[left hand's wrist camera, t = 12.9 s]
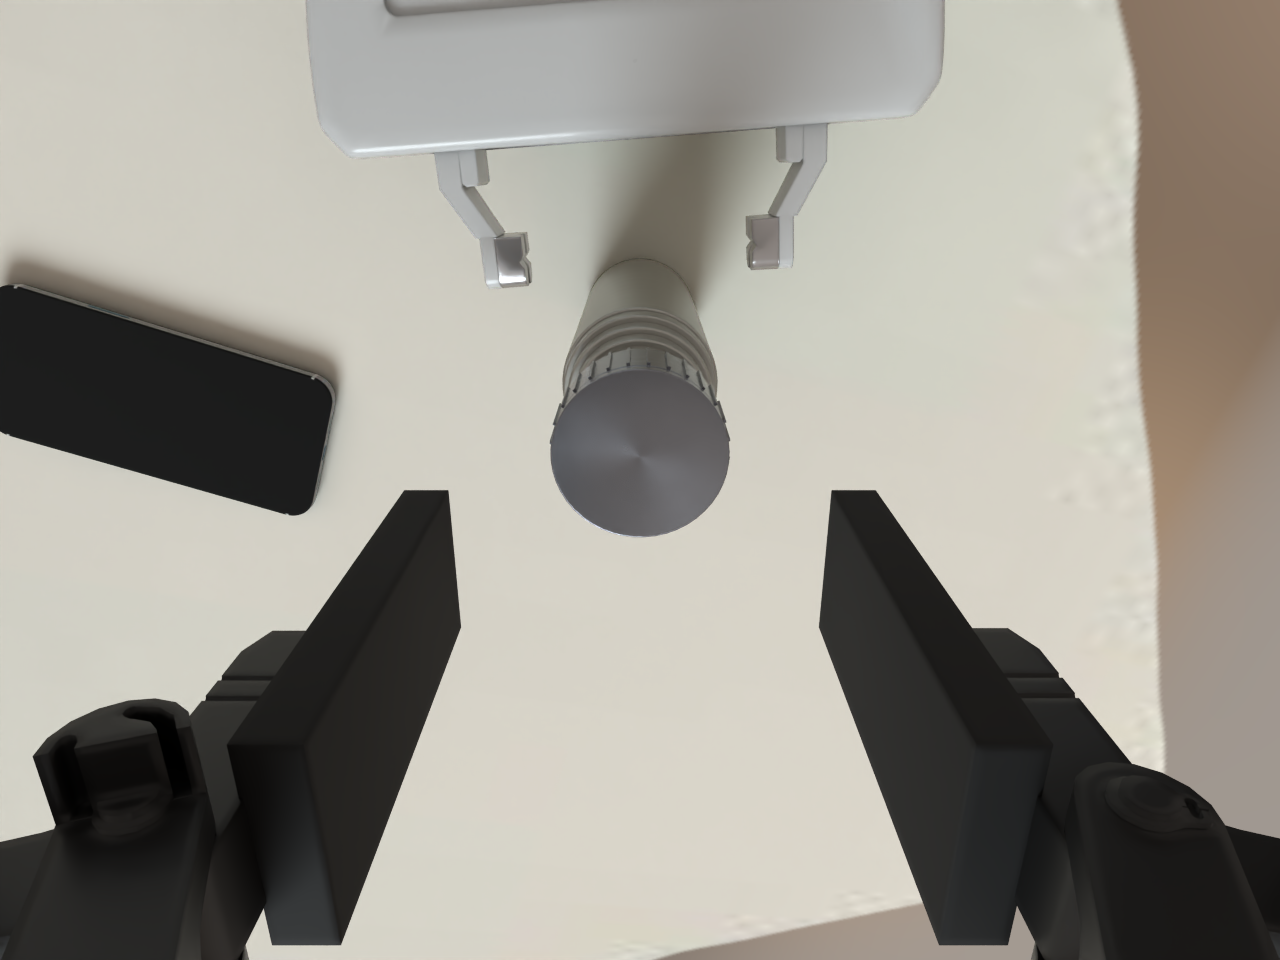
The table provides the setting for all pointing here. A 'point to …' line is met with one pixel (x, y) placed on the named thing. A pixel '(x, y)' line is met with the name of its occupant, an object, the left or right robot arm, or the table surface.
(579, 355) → the bottle
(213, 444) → the smartphone
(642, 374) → the cap
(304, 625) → the table surface
